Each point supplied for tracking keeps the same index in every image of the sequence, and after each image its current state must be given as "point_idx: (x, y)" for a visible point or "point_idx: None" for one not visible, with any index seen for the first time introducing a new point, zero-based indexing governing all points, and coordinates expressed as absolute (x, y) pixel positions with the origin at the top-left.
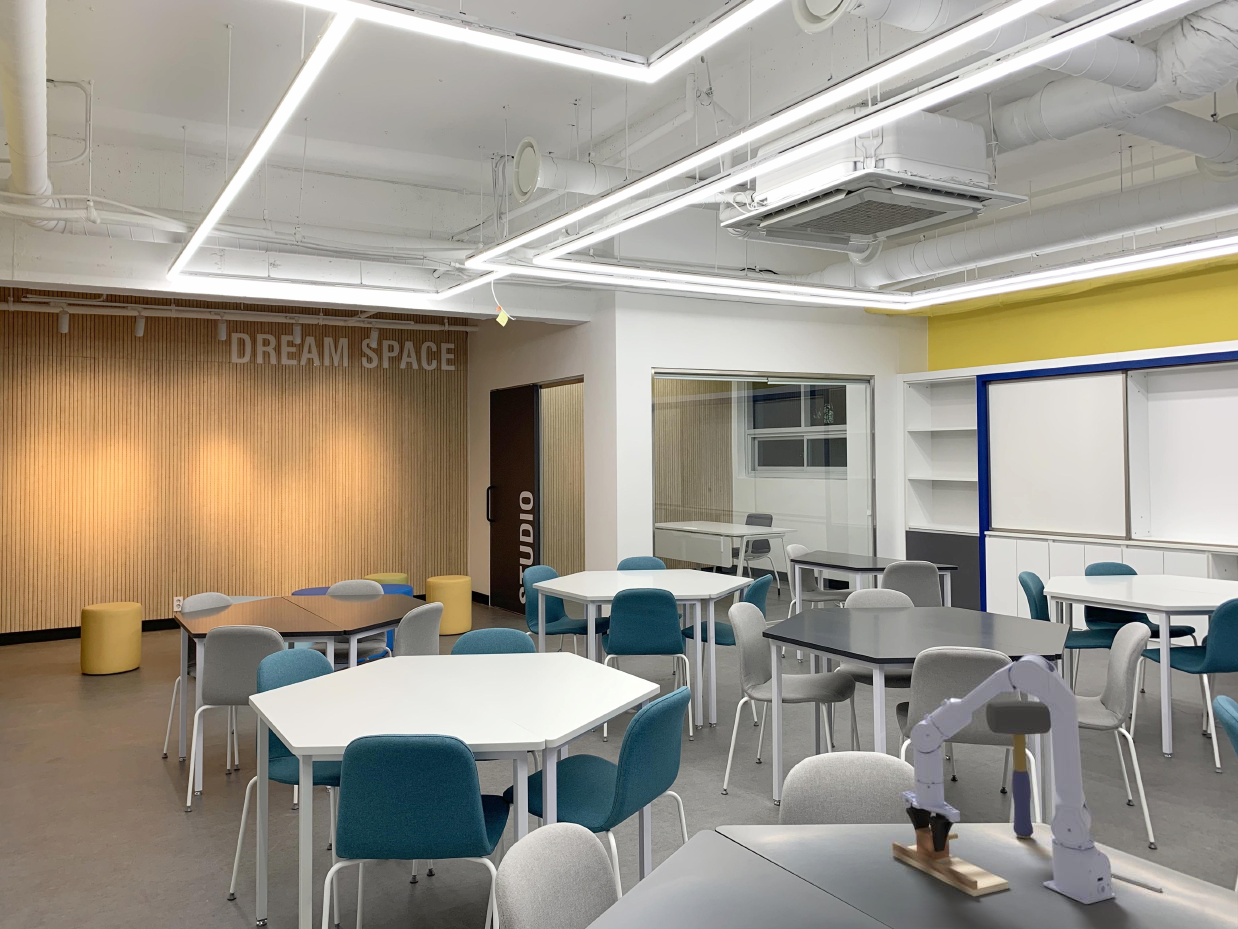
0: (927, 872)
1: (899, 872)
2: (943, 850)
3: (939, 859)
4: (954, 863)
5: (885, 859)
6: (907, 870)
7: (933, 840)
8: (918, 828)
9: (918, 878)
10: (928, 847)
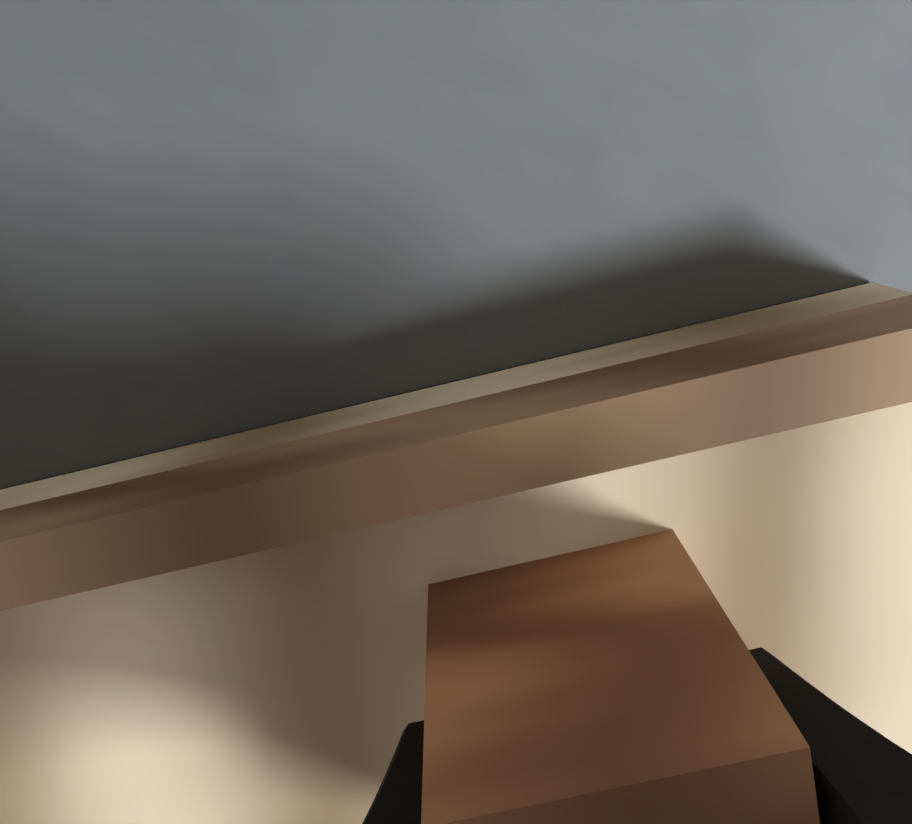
0: (269, 428)
1: (354, 88)
2: None
3: None
4: (307, 787)
5: (801, 120)
6: (397, 231)
7: (419, 814)
8: (842, 815)
9: (138, 241)
10: (464, 670)
